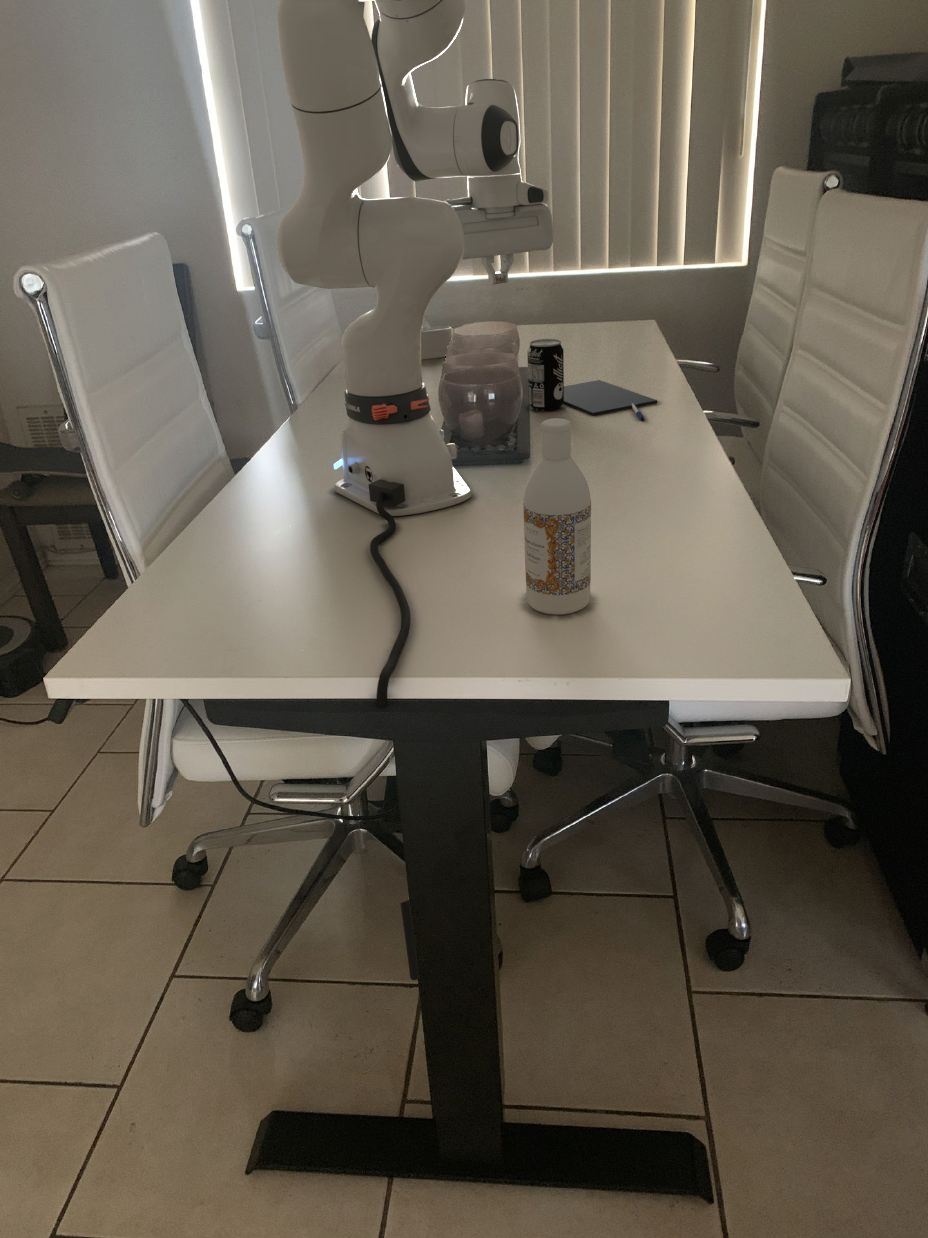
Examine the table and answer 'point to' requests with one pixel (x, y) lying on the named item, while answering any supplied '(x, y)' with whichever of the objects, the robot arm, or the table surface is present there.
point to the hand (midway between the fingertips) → (498, 283)
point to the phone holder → (434, 340)
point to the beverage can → (546, 374)
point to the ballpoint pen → (638, 412)
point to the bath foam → (557, 527)
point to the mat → (602, 397)
